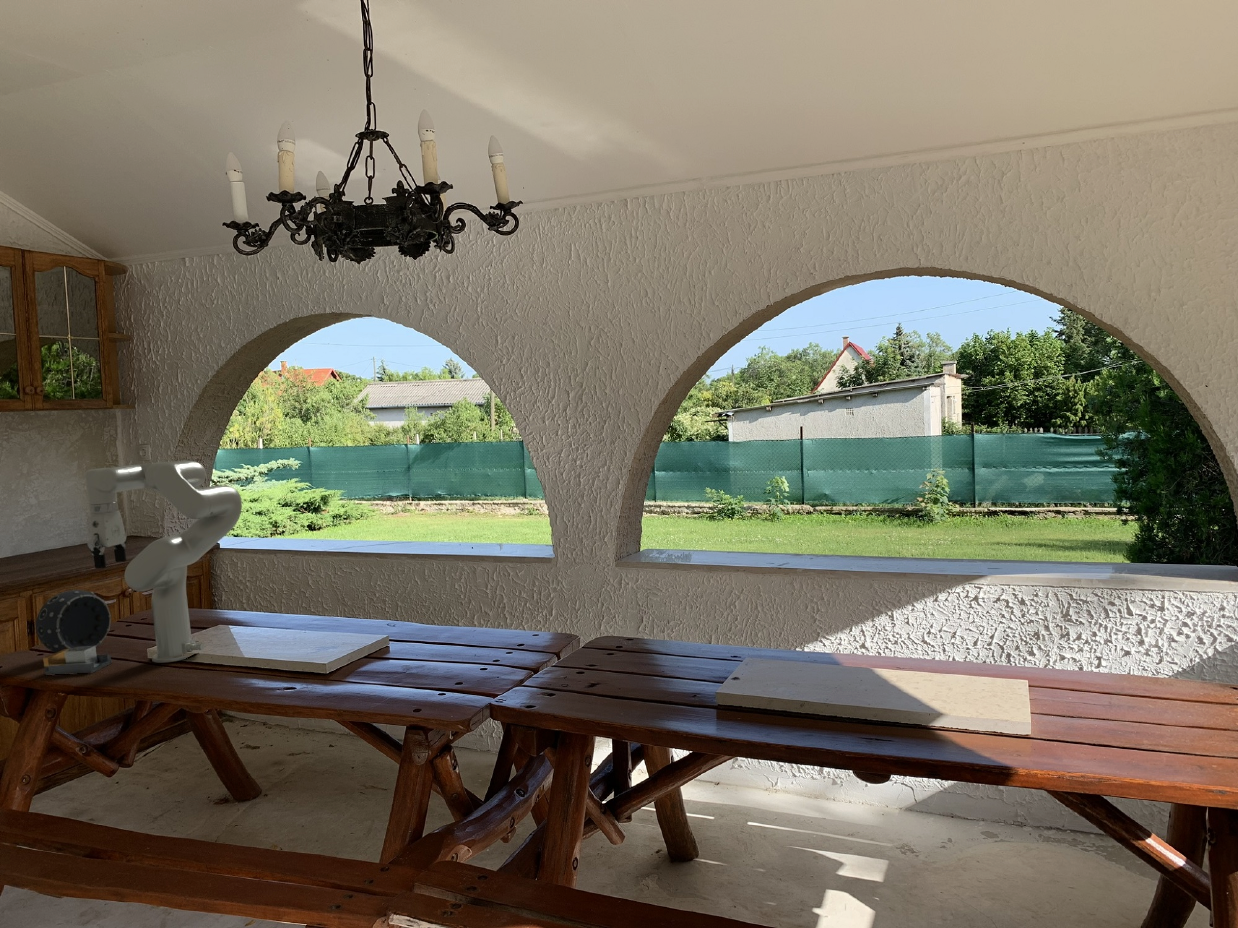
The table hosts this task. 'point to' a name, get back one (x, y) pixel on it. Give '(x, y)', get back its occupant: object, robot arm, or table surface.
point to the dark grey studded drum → (73, 621)
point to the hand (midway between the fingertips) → (111, 564)
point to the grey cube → (81, 655)
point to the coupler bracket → (59, 666)
